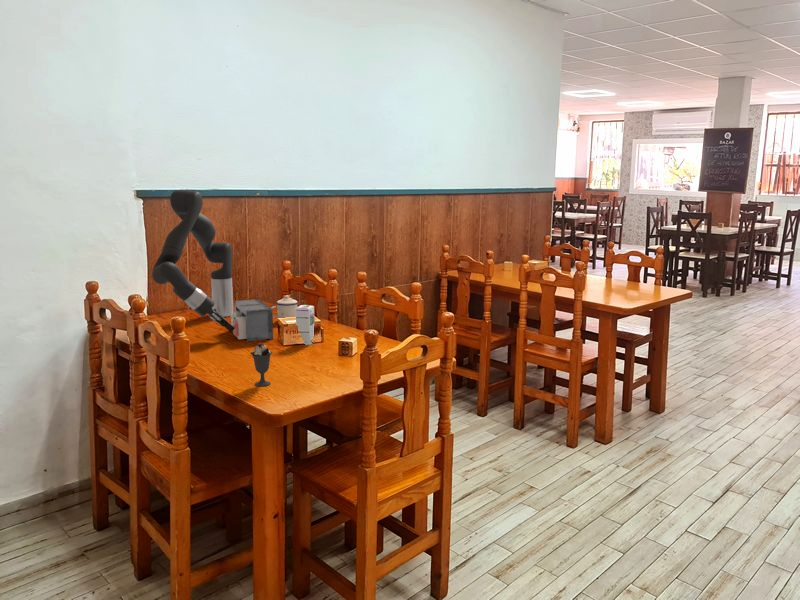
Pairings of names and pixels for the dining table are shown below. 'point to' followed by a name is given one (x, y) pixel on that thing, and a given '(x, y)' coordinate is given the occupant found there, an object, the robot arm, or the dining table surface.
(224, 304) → the robot arm
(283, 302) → the teacup with lid
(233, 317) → the pale greenish white box
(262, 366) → the sundae
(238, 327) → the white cube pink side
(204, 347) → the dining table surface
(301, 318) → the syrup box
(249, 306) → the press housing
